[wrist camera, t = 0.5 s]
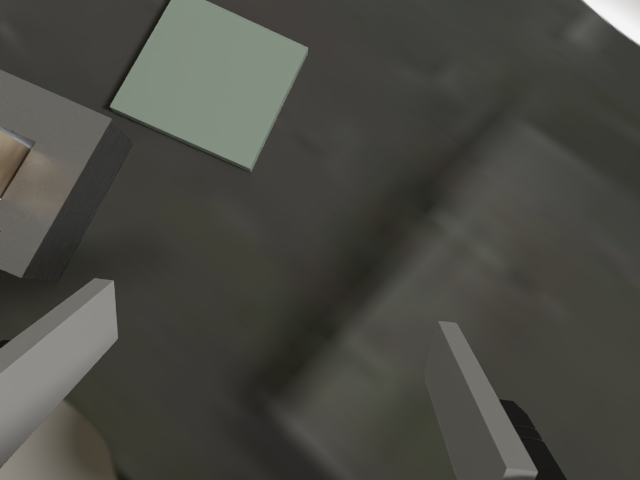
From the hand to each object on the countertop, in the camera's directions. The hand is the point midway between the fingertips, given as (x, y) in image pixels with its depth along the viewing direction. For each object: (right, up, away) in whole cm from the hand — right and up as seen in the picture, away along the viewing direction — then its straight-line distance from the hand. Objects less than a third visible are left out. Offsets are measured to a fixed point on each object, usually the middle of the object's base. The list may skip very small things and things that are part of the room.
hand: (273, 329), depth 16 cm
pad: (-9, +19, +22) cm, 31 cm away
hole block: (-25, +9, +19) cm, 32 cm away
